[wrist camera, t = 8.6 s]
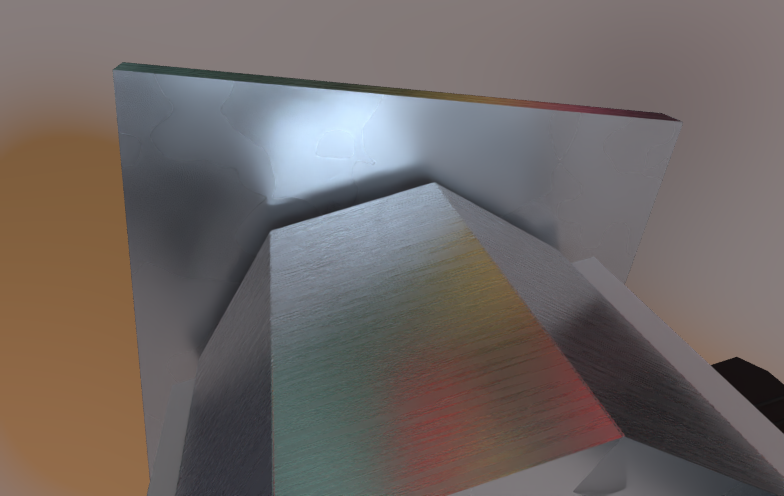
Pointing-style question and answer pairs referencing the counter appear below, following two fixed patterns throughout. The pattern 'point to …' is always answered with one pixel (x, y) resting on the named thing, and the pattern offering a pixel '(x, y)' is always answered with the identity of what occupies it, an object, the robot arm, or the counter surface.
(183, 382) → the robot arm
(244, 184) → the square plate with knob
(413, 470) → the grey piece
